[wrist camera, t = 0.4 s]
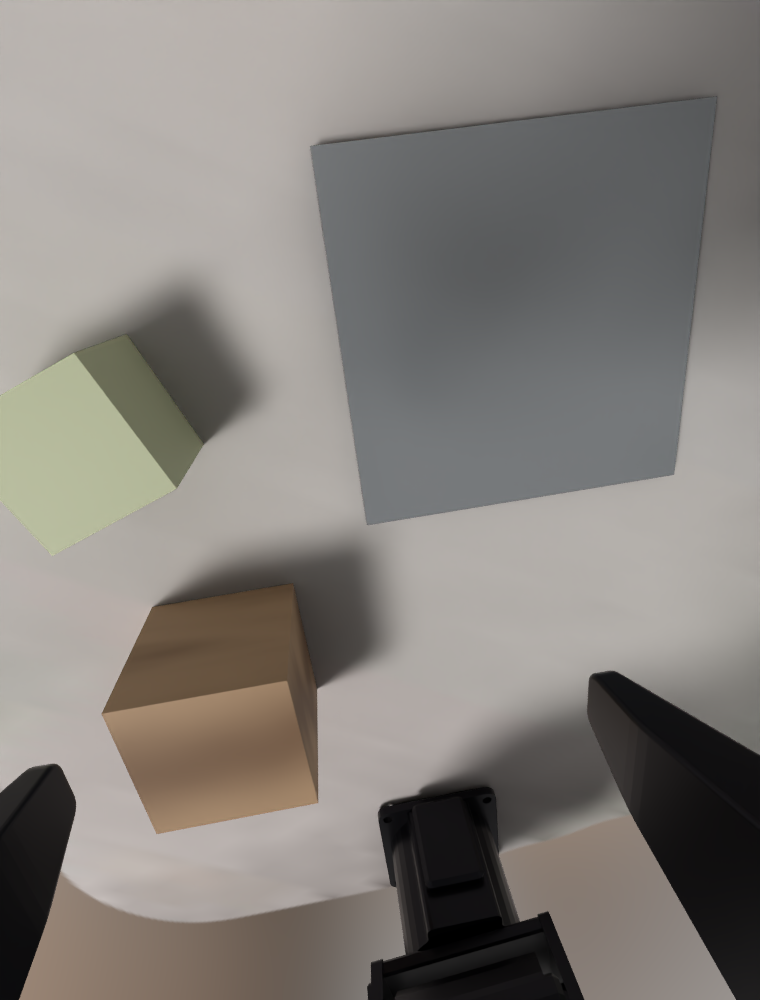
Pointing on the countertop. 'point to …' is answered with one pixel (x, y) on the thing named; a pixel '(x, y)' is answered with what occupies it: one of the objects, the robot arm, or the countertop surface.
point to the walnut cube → (219, 710)
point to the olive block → (90, 443)
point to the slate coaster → (515, 301)
